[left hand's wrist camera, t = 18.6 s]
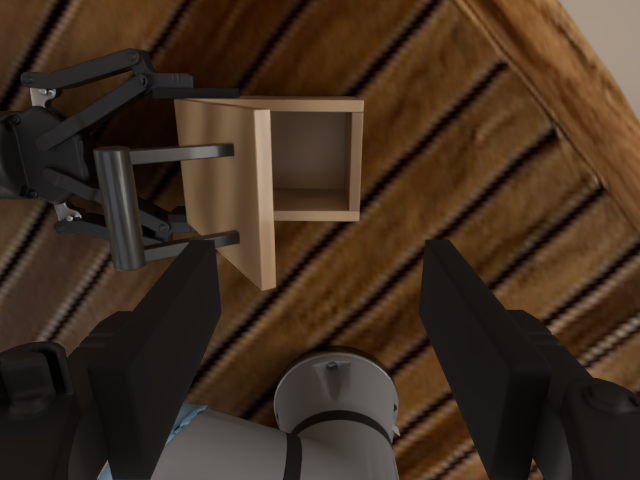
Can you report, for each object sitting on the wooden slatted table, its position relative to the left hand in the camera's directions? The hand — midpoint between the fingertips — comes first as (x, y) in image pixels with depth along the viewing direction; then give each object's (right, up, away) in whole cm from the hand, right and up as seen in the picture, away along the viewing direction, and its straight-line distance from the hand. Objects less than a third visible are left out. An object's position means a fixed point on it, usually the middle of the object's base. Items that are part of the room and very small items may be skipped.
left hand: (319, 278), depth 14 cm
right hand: (-7, +9, +23) cm, 26 cm away
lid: (-6, +5, +14) cm, 17 cm away
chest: (-4, +11, +29) cm, 31 cm away
